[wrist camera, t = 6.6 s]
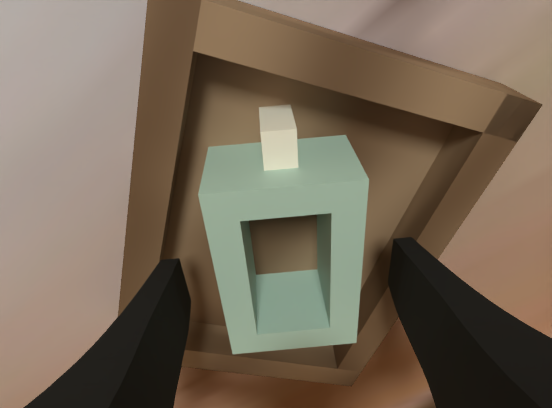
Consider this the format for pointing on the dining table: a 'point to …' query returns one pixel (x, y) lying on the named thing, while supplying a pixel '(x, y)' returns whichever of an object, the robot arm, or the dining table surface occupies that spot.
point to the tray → (310, 123)
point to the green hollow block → (277, 204)
